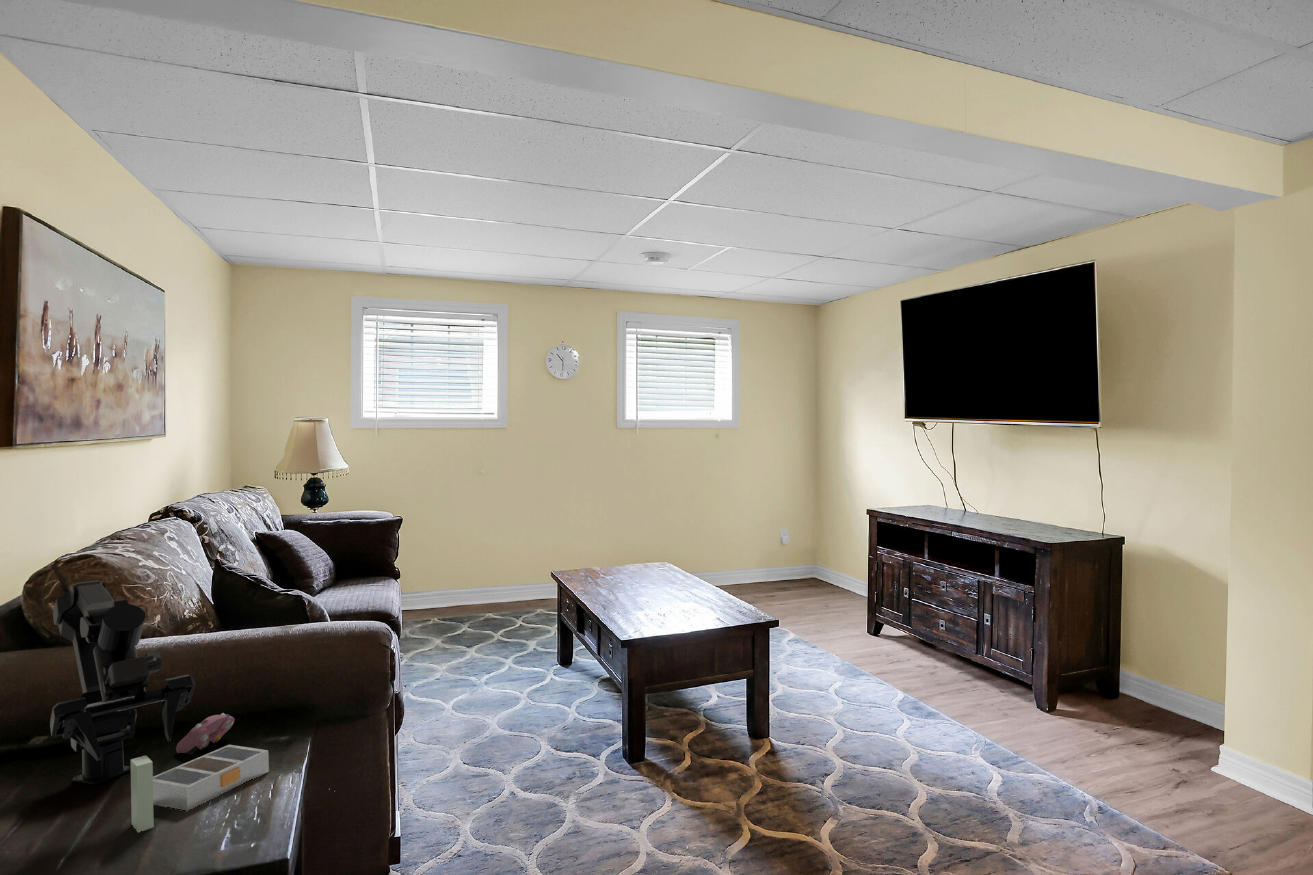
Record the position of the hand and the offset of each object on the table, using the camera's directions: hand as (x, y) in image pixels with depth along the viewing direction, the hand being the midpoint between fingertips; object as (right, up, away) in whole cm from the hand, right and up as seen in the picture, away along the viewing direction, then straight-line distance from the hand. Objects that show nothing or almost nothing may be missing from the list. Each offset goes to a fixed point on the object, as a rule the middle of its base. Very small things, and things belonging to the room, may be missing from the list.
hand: (135, 748), depth 112 cm
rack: (+5, -11, +10) cm, 16 cm away
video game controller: (-7, -13, +29) cm, 33 cm away
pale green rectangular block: (+3, -11, -3) cm, 12 cm away
